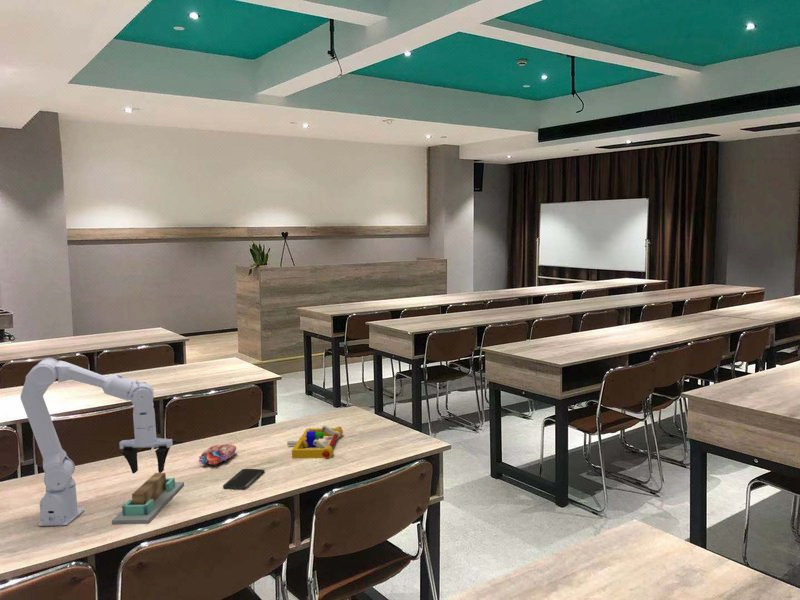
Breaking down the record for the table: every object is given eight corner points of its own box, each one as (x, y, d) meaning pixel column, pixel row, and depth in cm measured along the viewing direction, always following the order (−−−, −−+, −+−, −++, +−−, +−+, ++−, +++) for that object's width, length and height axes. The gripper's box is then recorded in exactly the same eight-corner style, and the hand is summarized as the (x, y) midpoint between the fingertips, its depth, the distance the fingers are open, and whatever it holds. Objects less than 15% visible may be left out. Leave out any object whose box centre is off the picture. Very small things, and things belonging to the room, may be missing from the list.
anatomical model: (206, 458, 221) (192, 464, 206) (208, 441, 221) (194, 446, 206) (236, 460, 220) (224, 467, 206) (238, 444, 221) (227, 449, 206)
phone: (265, 469, 202) (245, 487, 187) (265, 472, 202) (245, 491, 187) (243, 468, 204) (221, 486, 189) (243, 471, 204) (221, 490, 189)
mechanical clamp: (344, 417, 241) (330, 442, 211) (344, 433, 242) (331, 460, 212) (297, 418, 242) (277, 443, 212) (298, 433, 243) (278, 461, 213)
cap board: (148, 523, 167) (147, 510, 167) (112, 524, 167) (111, 511, 167) (184, 485, 193) (183, 474, 193) (152, 485, 193) (151, 474, 193)
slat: (143, 511, 172) (142, 494, 172) (133, 511, 172) (131, 494, 172) (166, 488, 188) (165, 472, 188) (156, 488, 188) (155, 472, 188)
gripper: (175, 421, 182) (178, 466, 183) (126, 422, 182) (129, 467, 183) (165, 428, 175) (169, 475, 176) (114, 429, 175) (118, 476, 176)
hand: (148, 471), depth 179 cm, fingers open, 7 cm apart
